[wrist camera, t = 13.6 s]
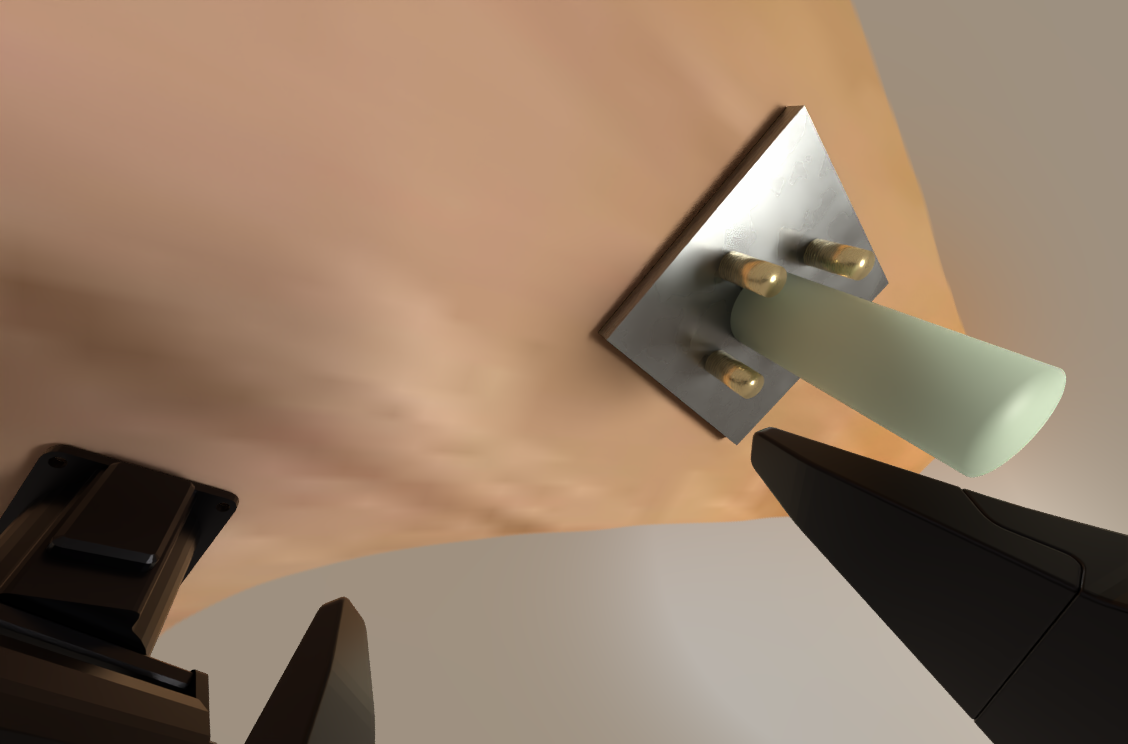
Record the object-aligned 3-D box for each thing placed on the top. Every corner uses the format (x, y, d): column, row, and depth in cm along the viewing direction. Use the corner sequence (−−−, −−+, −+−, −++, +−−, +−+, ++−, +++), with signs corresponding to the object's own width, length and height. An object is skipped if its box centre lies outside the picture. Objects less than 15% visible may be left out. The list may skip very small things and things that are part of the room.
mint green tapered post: (773, 348, 27) (1002, 476, 17) (718, 340, 25) (939, 478, 15) (808, 277, 25) (1085, 373, 15) (752, 262, 23) (1027, 360, 13)
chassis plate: (727, 437, 31) (769, 473, 27) (598, 332, 23) (635, 366, 20) (874, 278, 29) (938, 297, 26) (787, 106, 21) (864, 101, 18)
